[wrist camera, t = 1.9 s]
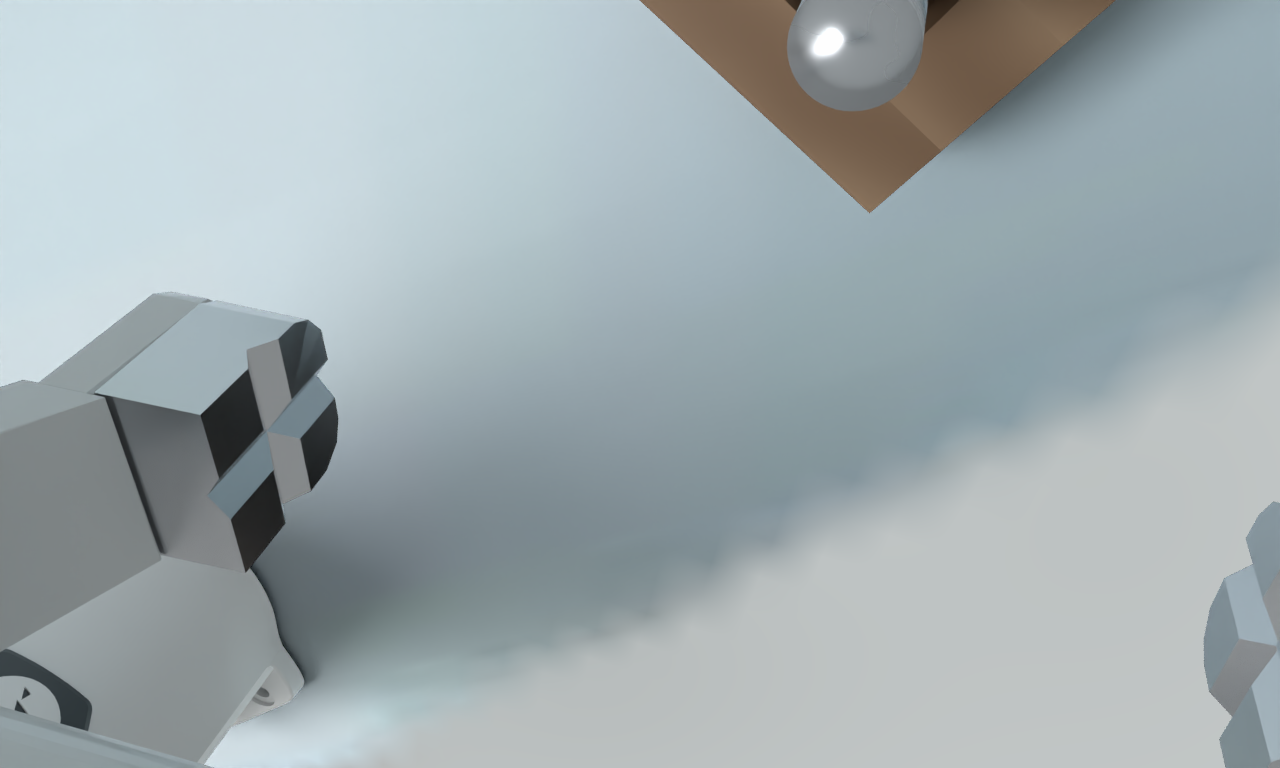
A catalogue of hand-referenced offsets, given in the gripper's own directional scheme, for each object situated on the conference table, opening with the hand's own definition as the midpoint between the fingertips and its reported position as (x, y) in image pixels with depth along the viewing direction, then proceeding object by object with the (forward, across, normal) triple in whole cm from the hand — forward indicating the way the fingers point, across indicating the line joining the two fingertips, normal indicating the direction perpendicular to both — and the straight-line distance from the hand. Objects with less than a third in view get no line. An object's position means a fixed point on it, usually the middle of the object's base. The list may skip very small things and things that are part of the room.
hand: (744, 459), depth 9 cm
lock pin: (+21, 0, 0) cm, 21 cm away
